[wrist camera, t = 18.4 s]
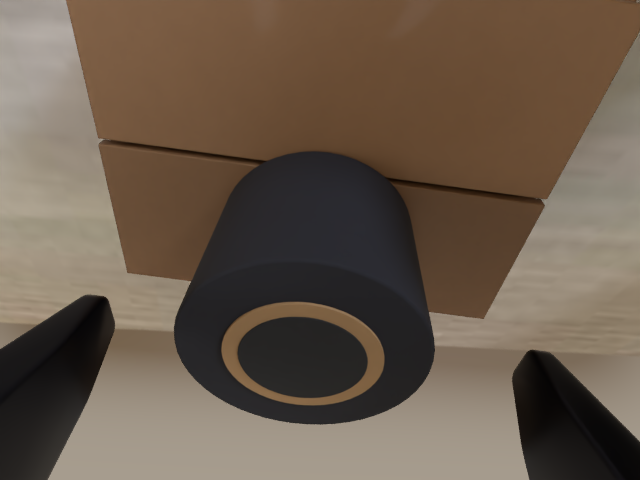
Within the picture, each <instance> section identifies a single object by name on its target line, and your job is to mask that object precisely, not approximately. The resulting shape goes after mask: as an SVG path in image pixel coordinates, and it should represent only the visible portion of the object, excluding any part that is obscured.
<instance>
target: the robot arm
mask: <svg viewBox="0 0 640 480" xmlns="http://www.w3.org/2000/svg"><path fill="white" fill-rule="evenodd" d="M114 329H115V321H114V317H113V314H112V311H111V307H110V304H109V301H108V299H107V298H106V297H104V296H97V295H84V296H82V297H80V298H79V299H77V300H76V301H74V302H73V303H71V304H70V305H68V306H67V307H65V308H63V309H62V310H60V311H59V312H57V313H56V314H54V315H53V316H51V317H49V318H48V319H46V320H45V321H43V322H42V323H40V324H39V325H37V326H35V327H34V328H33V329H31V330H29V331H28V332H26V333H25V334H23V335H22V336H20V337H18V338H17V339H15V340H14V341H12V342H11V343H9V344H8V345H6V346H4V347H3V348H1V349H0V480H48V478H49V476H50V474H51V472H52V470H53V468H54V466H55V464H56V462H57V460H58V458H59V456H60V454H61V452H62V450H63V448H64V446H65V444H66V442H67V440H68V438H69V437H70V434H71V433H72V431H73V428H74V426H75V425H76V423H77V421H78V419H79V417H80V415H81V413H82V411H83V409H84V407H85V404H86V403H87V401H88V398H89V396H90V393H91V391H92V388H93V386H94V383H95V381H96V378H97V375H98V372H99V370H100V367H101V365H102V362H103V360H104V357H105V354H106V351H107V349H108V346H109V344H110V341H111V338H112V336H113V333H114ZM512 382H513V390H514V397H515V404H516V411H517V417H518V425H519V432H520V439H521V445H522V450H523V455H524V459H525V464H526V468H527V472H528V475H529V480H640V442H639V440H637V438H635V436H634V435H632V433H631V432H630V431H629V430H628V429H627V428H626V427H625V426H624V425H622V423H621V422H620V421H619V420H618V419H617V418H616V417H615V416H613V414H612V413H611V412H610V411H609V410H608V409H607V408H605V407H604V406H603V405H602V403H601V402H599V400H598V399H597V398H596V397H595V396H594V395H593V394H592V393H591V392H590V391H589V390H587V388H586V387H585V386H583V384H582V383H580V381H579V380H578V379H577V378H576V377H575V376H573V374H572V373H571V372H569V370H568V369H567V368H566V367H565V366H564V365H563V364H562V363H561V362H560V361H559V360H558V359H557V358H556V357H555V356H554V355H552V354H551V353H549V352H546V351H538V350H530V351H528V352H527V353H526V354H525V356H524V357H523V359H522V360H521V361H520V363H519V364H518V366H517V367H516V369H515V370H514V373H513V377H512Z"/></svg>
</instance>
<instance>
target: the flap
mask: <svg viewBox="0 0 640 480" xmlns="http://www.w3.org/2000/svg"><path fill="white" fill-rule="evenodd" d="M66 2H67V6H68V10H69V14H70V19H71V23H72V27H73V32H74V36H75V40H76V44H77V49H78V53H79V57H80V62H81V66H82V70H83V74H84V79H85V83H86V87H87V92H88V96H89V100H90V104H91V109H92V113H93V117H94V122H95V126H96V130H97V134H98V138H101V139H109V140H116V141H123V142H131V143H138V144H145V145H152V146H160V147H167V148H174V149H182V150H189V151H196V152H204V153H211V154H218V155H226V156H233V157H240V158H247V159H255V160H262V161H269V160H271V159H273V158H276V157H280V156H283V155H286V154H291V153H297V152H311V151H317V152H329V153H334V154H339V155H343V156H346V157H349V158H353V159H356V160H358V161H360V162H362V163H364V164H366V165H368V166H370V167H371V168H373V169H374V170H376V171H377V172H379V173H380V174H381V175H383V176H384V177H386V178H394V179H401V180H408V181H415V182H423V183H430V184H437V185H445V186H452V187H459V188H467V189H474V190H481V191H489V192H496V193H503V194H510V195H518V196H525V197H532V198H540V199H547V198H548V196H549V195H550V193H551V191H552V189H553V187H554V186H555V184H556V182H557V180H558V178H559V176H560V175H561V173H562V171H563V169H564V167H565V166H566V164H567V162H568V160H569V158H570V157H571V155H572V153H573V151H574V149H575V147H576V146H577V144H578V142H579V140H580V138H581V137H582V135H583V133H584V131H585V129H586V127H587V126H588V124H589V122H590V120H591V118H592V117H593V115H594V113H595V111H596V109H597V108H598V106H599V104H600V102H601V100H602V98H603V97H604V95H605V93H606V91H607V89H608V88H609V86H610V84H611V82H612V80H613V78H614V77H615V75H616V73H617V71H618V69H619V68H620V66H621V64H622V62H623V60H624V59H625V57H626V55H627V53H628V51H629V49H630V48H631V46H632V44H633V42H634V40H635V39H636V37H637V35H638V33H639V31H640V3H637V2H631V1H624V0H66Z"/></svg>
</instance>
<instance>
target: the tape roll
mask: <svg viewBox="0 0 640 480" xmlns="http://www.w3.org/2000/svg"><path fill="white" fill-rule="evenodd" d="M174 338H175V344H176V348H177V352H178V354H179V356H180V359H181V361H182V363H183V364H184V366H185V367H186V369H187V370H188V372H189V373H190V374H191V375H192V376H193V377H194V379H195V380H196V381H197V382H198V383H199V384H201V385H202V386H203V387H204V388H205V389H206V390H208V391H209V392H211V393H212V394H213V395H215V396H216V397H218V398H220V399H221V400H223V401H225V402H227V403H228V404H230V405H233V406H235V407H237V408H239V409H241V410H244V411H247V412H249V413H252V414H255V415H258V416H261V417H265V418H269V419H273V420H278V421H284V422H290V423H300V424H336V423H343V422H351V421H356V420H361V419H365V418H368V417H371V416H374V415H377V414H380V413H382V412H385V411H387V410H389V409H391V408H393V407H395V406H397V405H399V404H400V403H402V402H403V401H404V400H406V399H408V398H409V397H410V396H411V395H412V394H413V393H414V392H416V391H417V389H418V388H419V387H420V386H421V385H422V384H423V382H424V381H425V379H426V377H427V376H428V374H429V372H430V369H431V366H432V363H433V359H434V352H435V346H434V336H433V331H432V326H431V321H430V316H429V311H428V306H427V300H426V295H425V290H424V285H423V280H422V275H421V270H420V265H419V259H418V254H417V249H416V244H415V239H414V234H413V229H412V223H411V219H410V215H409V211H408V209H407V206H406V204H405V202H404V200H403V198H402V197H401V195H400V194H399V192H398V191H397V189H396V188H395V187H394V186H393V185H392V184H391V183H390V181H389V180H387V179H386V178H385V177H384V176H383V175H381V174H380V173H379V172H377V171H376V170H374V169H373V168H371V167H370V166H368V165H366V164H364V163H362V162H360V161H358V160H356V159H353V158H349V157H346V156H343V155H339V154H334V153H329V152H317V151H311V152H297V153H291V154H286V155H283V156H280V157H276V158H273V159H271V160H269V161H267V162H264V163H262V164H261V165H259V166H257V167H256V168H254V169H253V170H251V171H250V172H249V173H248V174H247V175H245V176H244V177H243V178H242V179H241V180H240V181H239V183H238V184H237V185H236V186H235V187H234V189H233V191H232V192H231V194H230V196H229V198H228V200H227V202H226V205H225V207H224V209H223V211H222V214H221V216H220V218H219V220H218V223H217V225H216V227H215V229H214V232H213V234H212V236H211V238H210V240H209V243H208V245H207V247H206V249H205V252H204V254H203V256H202V258H201V261H200V263H199V265H198V267H197V270H196V272H195V274H194V276H193V279H192V281H191V283H190V285H189V288H188V290H187V292H186V294H185V297H184V299H183V301H182V303H181V306H180V308H179V311H178V313H177V316H176V319H175V326H174Z"/></svg>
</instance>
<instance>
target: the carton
mask: <svg viewBox="0 0 640 480" xmlns="http://www.w3.org/2000/svg"><path fill="white" fill-rule="evenodd" d="M624 1H631V2H636V1H637V0H624ZM99 149H100V154H101V158H102V162H103V167H104V171H105V176H106V180H107V184H108V189H109V193H110V198H111V202H112V206H113V211H114V215H115V220H116V224H117V229H118V233H119V237H120V242H121V246H122V251H123V255H124V259H125V264H126V268H127V272H128V273H133V274H140V275H148V276H156V277H164V278H171V279H179V280H187V281H192V279H193V276H194V274H195V272H196V270H197V267H198V265H199V263H200V261H201V258H202V256H203V254H204V252H205V249H206V247H207V245H208V243H209V240H210V238H211V236H212V234H213V232H214V229H215V227H216V225H217V223H218V220H219V218H220V216H221V214H222V211H223V209H224V207H225V205H226V202H227V200H228V198H229V196H230V194H231V192H232V191H233V189H234V187H235V186H236V185H237V184H238V183H239V181H240V180H241V179H242V178H243V177H244V176H245V175H247V174H248V173H249V172H250V171H251V170H253V169H254V168H256V167H257V166H259V165H261V164H262V163H264V162H267V161H262V160H255V159H247V158H240V157H233V156H226V155H218V154H211V153H204V152H196V151H189V150H182V149H174V148H167V147H160V146H152V145H145V144H138V143H131V142H123V141H116V140H103V141H102V142H101V143H100V144H99ZM385 178H386V177H385ZM386 179H387V180H389V181H390V183H391V184H392V185H393V186H394V187H395V188H396V189H397V191H398V192H399V194H400V195H401V197H402V198H403V200H404V202H405V204H406V206H407V209H408V211H409V215H410V219H411V223H412V229H413V234H414V239H415V244H416V249H417V254H418V259H419V265H420V270H421V275H422V280H423V285H424V290H425V295H426V300H427V306H428V311H429V312H434V313H442V314H450V315H458V316H465V317H473V318H481V319H484V317H485V315H486V313H487V312H488V310H489V308H490V306H491V304H492V302H493V301H494V299H495V297H496V295H497V293H498V291H499V289H500V288H501V286H502V284H503V282H504V280H505V278H506V277H507V275H508V273H509V271H510V269H511V267H512V266H513V264H514V262H515V260H516V258H517V256H518V255H519V253H520V251H521V249H522V247H523V245H524V243H525V242H526V240H527V238H528V236H529V234H530V232H531V231H532V229H533V227H534V225H535V223H536V221H537V220H538V218H539V216H540V214H541V212H542V210H543V208H544V207H545V205H544V203H543V202H542V200H541V199H536V198H532V197H525V196H518V195H510V194H503V193H496V192H489V191H481V190H474V189H467V188H459V187H452V186H445V185H437V184H430V183H423V182H415V181H408V180H401V179H394V178H386Z"/></svg>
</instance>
